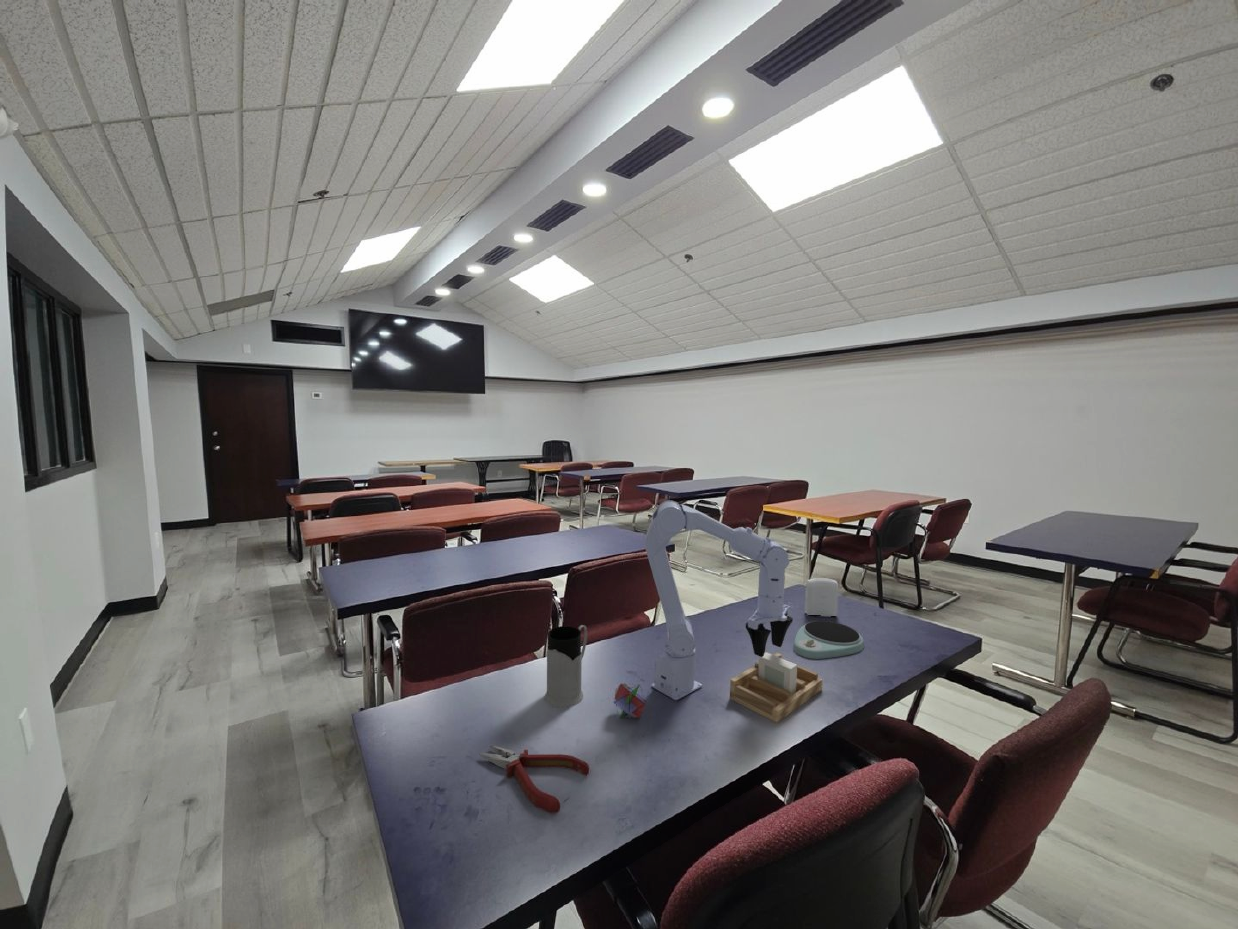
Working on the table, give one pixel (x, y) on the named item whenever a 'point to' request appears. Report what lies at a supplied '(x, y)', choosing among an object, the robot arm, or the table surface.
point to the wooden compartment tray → (773, 692)
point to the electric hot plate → (827, 640)
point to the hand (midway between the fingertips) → (768, 650)
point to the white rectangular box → (778, 672)
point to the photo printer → (821, 597)
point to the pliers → (517, 763)
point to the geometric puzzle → (629, 700)
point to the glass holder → (564, 666)
